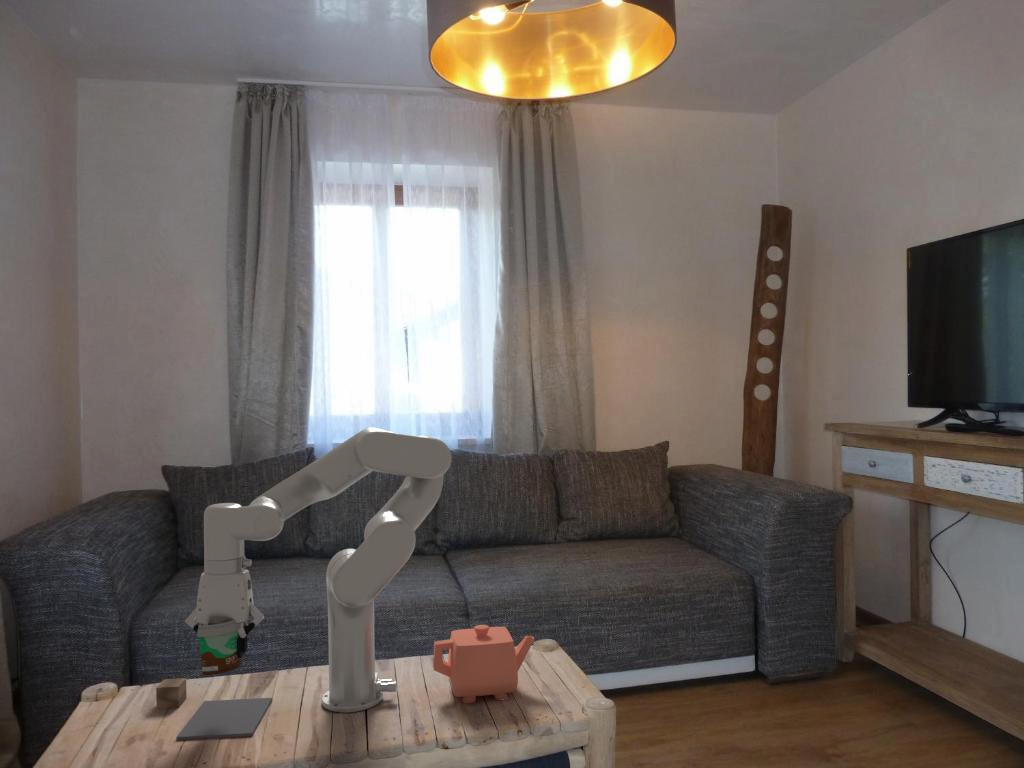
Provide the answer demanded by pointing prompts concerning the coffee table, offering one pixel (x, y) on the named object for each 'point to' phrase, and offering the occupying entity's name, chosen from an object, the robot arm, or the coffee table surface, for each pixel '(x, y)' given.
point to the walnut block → (171, 693)
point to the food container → (219, 647)
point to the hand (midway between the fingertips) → (225, 655)
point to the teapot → (481, 661)
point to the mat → (226, 719)
